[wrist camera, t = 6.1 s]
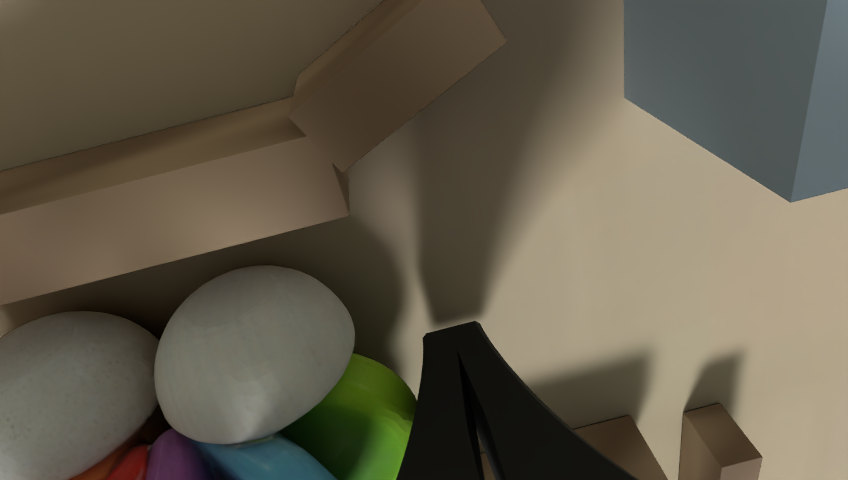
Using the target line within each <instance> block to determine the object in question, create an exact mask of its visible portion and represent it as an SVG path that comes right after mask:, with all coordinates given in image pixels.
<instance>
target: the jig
mask: <svg viewBox="0 0 848 480" xmlns="http://www.w3.org/2000/svg"><path fill="white" fill-rule="evenodd" d="M506 42H507V41H506V39H505V38H504V36H503V35H502V33H501V31H500V30H499V28H498V27H497V25H496V24H495V22H494V21H493V19H492V17H491V16H490V14H489V13H488V11H487V10H486V8H485V6H484V5H483V3H482V2H481V0H384V1H383V2H382V3H380V4H379V5H378V6H377V7H376V8H375V9H374V10H372V11H371V12H370V13H369V14H368V15H367V16H366V17H364V18H363V19H362V20H361V21H360V22H359V23H357V24H356V25H355V26H354V27H353V28H352V29H351V30H349V31H348V32H347V33H346V34H345V35H344V36H343V37H341V38H340V39H339V40H338V41H337V42H336V43H334V44H333V45H332V46H331V47H330V48H329V49H328V50H326V51H325V52H324V53H323V54H322V55H321V56H319V57H318V58H317V59H316V60H315V61H314V62H313V63H311V64H310V65H309V66H308V67H307V68H306V69H305V70H303V71H302V72H301V73H300V74H299V75H298V79H297V83H296V87H295V91H294V94H293V97H289V98H286V99H282V100H278V101H274V102H270V103H266V104H262V105H258V106H254V107H250V108H246V109H242V110H239V111H235V112H231V113H227V114H223V115H219V116H215V117H211V118H207V119H203V120H199V121H196V122H192V123H188V124H184V125H180V126H176V127H172V128H168V129H164V130H160V131H156V132H153V133H149V134H145V135H141V136H137V137H133V138H129V139H125V140H121V141H117V142H113V143H110V144H106V145H102V146H98V147H94V148H90V149H86V150H82V151H78V152H74V153H70V154H67V155H63V156H59V157H55V158H51V159H47V160H43V161H39V162H35V163H31V164H27V165H23V166H20V167H16V168H12V169H8V170H4V171H0V305H4V304H8V303H12V302H16V301H20V300H24V299H28V298H32V297H35V296H39V295H43V294H47V293H51V292H55V291H59V290H63V289H67V288H70V287H74V286H78V285H82V284H86V283H90V282H94V281H98V280H102V279H106V278H109V277H113V276H117V275H121V274H125V273H129V272H133V271H137V270H141V269H144V268H148V267H152V266H156V265H160V264H164V263H168V262H172V261H176V260H180V259H183V258H187V257H191V256H195V255H199V254H203V253H207V252H211V251H215V250H218V249H222V248H226V247H230V246H234V245H238V244H242V243H246V242H250V241H254V240H257V239H261V238H265V237H269V236H273V235H277V234H281V233H285V232H289V231H292V230H296V229H300V228H304V227H308V226H312V225H316V224H320V223H324V222H328V221H331V220H335V219H339V218H343V217H347V216H350V214H349V186H348V168H349V167H350V166H351V165H353V164H354V163H355V162H356V161H358V160H359V159H360V158H361V157H363V156H364V155H365V154H366V153H368V152H369V151H370V150H371V149H373V148H374V147H375V146H376V145H378V144H379V143H380V142H382V141H383V140H384V139H385V138H387V137H388V136H389V135H390V134H392V133H393V132H394V131H395V130H397V129H398V128H399V127H400V126H402V125H403V124H404V123H405V122H407V121H408V120H409V119H410V118H412V117H413V116H414V115H415V114H417V113H418V112H419V111H420V110H422V109H423V108H424V107H426V106H427V105H428V104H429V103H431V102H432V101H433V100H434V99H436V98H437V97H438V96H439V95H441V94H442V93H443V92H444V91H446V90H447V89H448V88H449V87H451V86H452V85H453V84H454V83H456V82H457V81H458V80H459V79H461V78H462V77H463V76H465V75H466V74H467V73H468V72H470V71H471V70H472V69H473V68H475V67H476V66H477V65H478V64H480V63H481V62H482V61H483V60H485V59H486V58H487V57H488V56H490V55H491V54H492V53H493V52H495V51H496V50H497V49H498V48H500V47H501V46H502V45H503V44H505V43H506ZM574 431H575V432H576V433H577V434H578V435H580V436H581V437H582V438H583V439H584V440H586V441H587V442H588V443H589V444H591V445H592V446H593V447H594V448H596V449H597V450H598V451H600V452H601V453H602V454H604V455H605V456H606V457H608V458H609V459H611V460H612V461H613V462H615V463H616V464H618V465H619V466H620V467H622V468H623V469H624V470H626V471H627V472H629V473H630V474H631V475H633V476H634V477H636V478H637V479H639V480H668V479H667V477H666V476H665V474H664V472H663V470H662V469H661V467H660V465H659V464H658V462H657V460H656V458H655V457H654V455H653V453H652V452H651V450H650V448H649V446H648V445H647V443H646V441H645V440H644V438H643V436H642V435H641V433H640V431H639V429H638V428H637V426H636V424H635V423H634V421H633V419H632V417H631V416H630V415H629V416H625V417H621V418H617V419H614V420H610V421H606V422H602V423H598V424H594V425H590V426H586V427H583V428H579V429H575V430H574ZM762 458H763V457H762V456H761V454H760V453H759V452H758V451H757V449H756V448H755V447H754V446H753V444H752V443H751V442H750V440H749V439H748V438H747V437H746V435H745V434H744V433H743V432H742V430H741V429H740V428H739V426H738V425H737V424H736V423H735V421H734V420H733V419H732V418H731V416H730V415H729V414H728V413H727V411H726V410H725V409H724V407H723V406H722V405H721V404H720V403H719V404H715V405H711V406H707V407H703V408H700V409H696V410H692V411H688V412H684V414H683V428H682V441H681V455H680V469H679V480H758V477H759V472H760V467H761V462H762ZM481 459H482V465H483V471H484V477H485V480H495V477H494V474H493V472H492V469H491V466H490V464H489V461H488V458H487V456H486V453H482V454H481Z"/></svg>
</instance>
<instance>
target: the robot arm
mask: <svg viewBox="0 0 848 480" xmlns="http://www.w3.org/2000/svg"><path fill="white" fill-rule="evenodd" d="M476 429H477V430H476ZM477 431H478V434H479V437H480V439H481V442H482V445H483V447H484V450H485V453H486V456H487V458H488V461H489V464H490V466H491V469H492V472H493V474H494V477H495V480H639V479H637V478H636V477H634V476H633V475H631V474H630V473H629V472H627V471H626V470H624V469H623V468H622V467H620V466H619V465H618V464H616V463H615V462H613V461H612V460H611V459H609V458H608V457H606V456H605V455H604V454H602V453H601V452H600V451H598V450H597V449H596V448H594V447H593V446H592V445H591V444H589V443H588V442H587V441H586V440H584V439H583V438H582V437H581V436H580V435H578V434H577V433H576V432H575V431H574V430H572V429H571V428H570V427H569V426H568V425H567V424H566V423H564V422H563V421H562V420H561V419H560V418H559V417H558V416H557V415H556V414H554V413H553V412H552V411H551V410H550V409H549V408H548V407H547V406H546V405H545V404H544V403H543V402H542V401H541V400H540V399H539V398H538V397H537V396H536V395H535V394H534V393H533V392H532V391H531V390H530V389H529V388H528V386H527V385H526V384H525V383H524V382H523V381H522V380H521V379H520V378H519V376H518V375H517V374H516V373H515V372H514V371H513V370H512V368H511V367H510V366H509V365H508V364H507V362H506V361H505V360H504V359H503V357H502V356H501V355H500V354H499V352H498V351H497V350H496V348H495V347H494V346H493V344H492V343H491V341H490V340H489V338H488V337H487V335H486V334H485V332H484V330H483V328H482V327H481V325H480V323H478V322H476V321H473V322H469V323H465V324H461V325H457V326H453V327H449V328H445V329H442V330H438V331H434V332H430V333H426V335H425V336H424V337H423V365H422V374H421V382H420V388H419V394H418V400H417V405H416V410H415V415H414V419H413V423H412V427H411V431H410V435H409V439H408V443H407V446H406V450H405V453H404V457H403V460H402V463H401V466H400V469H399V472H398V475H397V478H396V480H485V477H484V471H483V465H482V459H481V454H480V448H479V442H478V436H477Z"/></svg>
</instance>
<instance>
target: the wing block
mask: <svg viewBox="0 0 848 480" xmlns="http://www.w3.org/2000/svg"><path fill="white" fill-rule="evenodd" d="M624 98H626V99H627V100H629V101H630V102H632V103H634V104H635V105H637V106H638V107H640V108H641V109H643V110H645V111H646V112H648V113H649V114H651V115H653V116H654V117H656V118H657V119H659V120H660V121H662V122H664V123H665V124H667V125H668V126H670V127H672V128H673V129H675V130H676V131H678V132H679V133H681V134H683V135H684V136H686V137H687V138H689V139H691V140H692V141H694V142H695V143H697V144H699V145H700V146H702V147H703V148H705V149H706V150H708V151H710V152H711V153H713V154H714V155H716V156H718V157H719V158H721V159H722V160H724V161H725V162H727V163H729V164H730V165H732V166H733V167H735V168H737V169H738V170H740V171H741V172H743V173H744V174H746V175H748V176H749V177H751V178H752V179H754V180H756V181H757V182H759V183H760V184H762V185H763V186H765V187H767V188H768V189H770V190H771V191H773V192H775V193H776V194H778V195H779V196H781V197H782V198H784V199H786V200H787V201H789V202H790V203H791V202H795V201H799V200H803V199H806V198H810V197H814V196H818V195H822V194H826V193H830V192H834V191H838V190H842V189H846V188H848V0H624Z"/></svg>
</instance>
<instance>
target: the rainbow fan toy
mask: <svg viewBox="0 0 848 480" xmlns="http://www.w3.org/2000/svg"><path fill="white" fill-rule="evenodd" d="M354 343H355V329H354V325H353V321H352V319H351V316H350V314H349V312H348V311H347V309H346V307H345V306H344V304H343V303H342V302H341V301H340V299H339V298H338V297H337V296H336V295H335V294H334V293H333V292H332V291H331V290H330V289H329V288H328V287H326V286H325V285H324V284H322V283H321V282H320V281H318V280H317V279H315V278H313V277H311V276H309V275H307V274H305V273H303V272H301V271H298V270H294V269H290V268H285V267H280V266H271V265H265V266H250V267H244V268H240V269H236V270H232V271H229V272H227V273H225V274H222V275H220V276H218V277H216V278H214V279H212V280H210V281H208V282H206V283H205V284H203V285H202V286H201V287H199V288H198V289H197V290H196V291H194V292H193V293H192V294H191V295H190V296H188V297H187V299H186V300H185V301H184V302H183V303H182V304H181V305H180V306H179V307H178V309H177V310H176V311H175V313H174V314H173V316H172V317H171V318H170V320H169V322H168V324H167V326H166V328H165V330H164V332H163V334H162V337H161V339H160V341H159V340H158V339H157V338H156V337H155V336H153V335H152V334H151V333H150V332H149V331H147V330H146V329H144V328H142V327H141V326H139V325H138V324H136V323H134V322H132V321H130V320H127V319H125V318H122V317H119V316H115V315H111V314H107V313H101V312H90V311H75V312H62V313H58V314H53V315H48V316H44V317H41V318H39V319H36V320H34V321H31V322H28V323H26V324H24V325H22V326H20V327H17V328H15V329H14V330H12V331H10V332H9V333H7V334H5V335H4V336H2V337H1V338H0V480H396V478H397V475H398V472H399V469H400V466H401V463H402V460H403V457H404V453H405V450H406V446H407V443H408V439H409V435H410V431H411V427H412V423H413V419H414V415H415V410H416V405H417V400H416V398H415V396H414V394H413V393H412V391H411V390H410V388H409V387H408V385H407V384H406V383H405V382H404V381H403V380H402V379H401V378H400V377H399V376H398V375H397V374H396V373H394V372H393V371H392V370H390V369H389V368H387V367H386V366H384V365H382V364H381V363H379V362H377V361H374V360H372V359H369V358H367V357H364V356H361V355H359V354H356V353H352V352H353V348H354Z"/></svg>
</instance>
